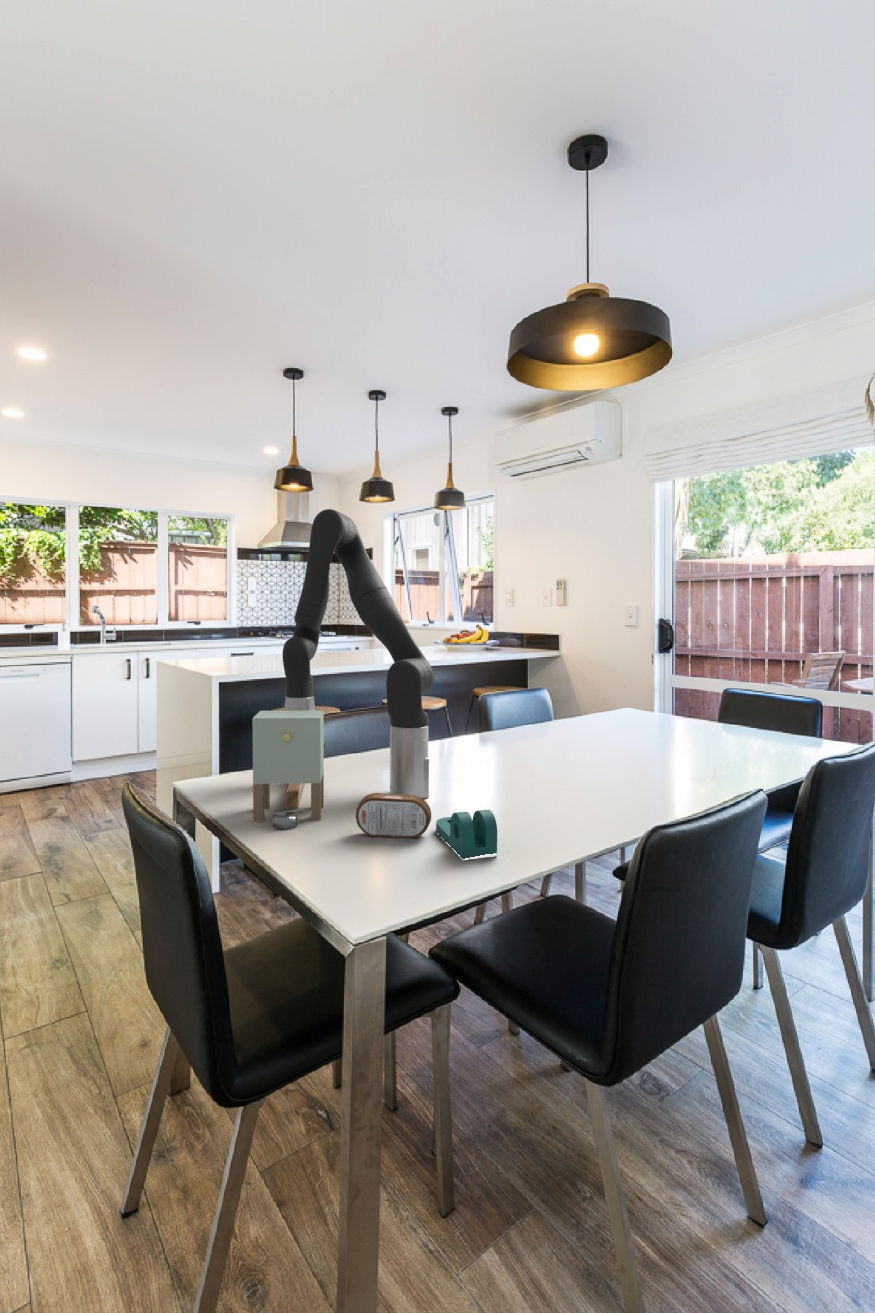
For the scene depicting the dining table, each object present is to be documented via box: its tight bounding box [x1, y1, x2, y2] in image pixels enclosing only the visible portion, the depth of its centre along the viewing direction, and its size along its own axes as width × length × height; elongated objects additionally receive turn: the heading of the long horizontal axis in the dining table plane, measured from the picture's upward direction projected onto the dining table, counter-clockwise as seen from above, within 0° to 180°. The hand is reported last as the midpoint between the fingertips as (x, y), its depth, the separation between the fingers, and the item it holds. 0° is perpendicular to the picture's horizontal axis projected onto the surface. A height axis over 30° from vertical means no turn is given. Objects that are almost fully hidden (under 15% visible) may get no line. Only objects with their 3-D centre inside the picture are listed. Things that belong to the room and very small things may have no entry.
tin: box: [355, 792, 432, 839], centre depth 127 cm, size 15×3×8 cm, turn 84°
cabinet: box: [252, 709, 325, 822], centre depth 139 cm, size 14×11×22 cm
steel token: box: [272, 811, 298, 831], centre depth 132 cm, size 5×5×2 cm
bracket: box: [435, 809, 498, 859], centre depth 124 cm, size 18×7×8 cm, turn 18°
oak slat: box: [286, 783, 306, 810], centre depth 155 cm, size 2×24×4 cm, turn 8°
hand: (299, 780), depth 165 cm, fingers closed on oak slat, 2 cm apart
